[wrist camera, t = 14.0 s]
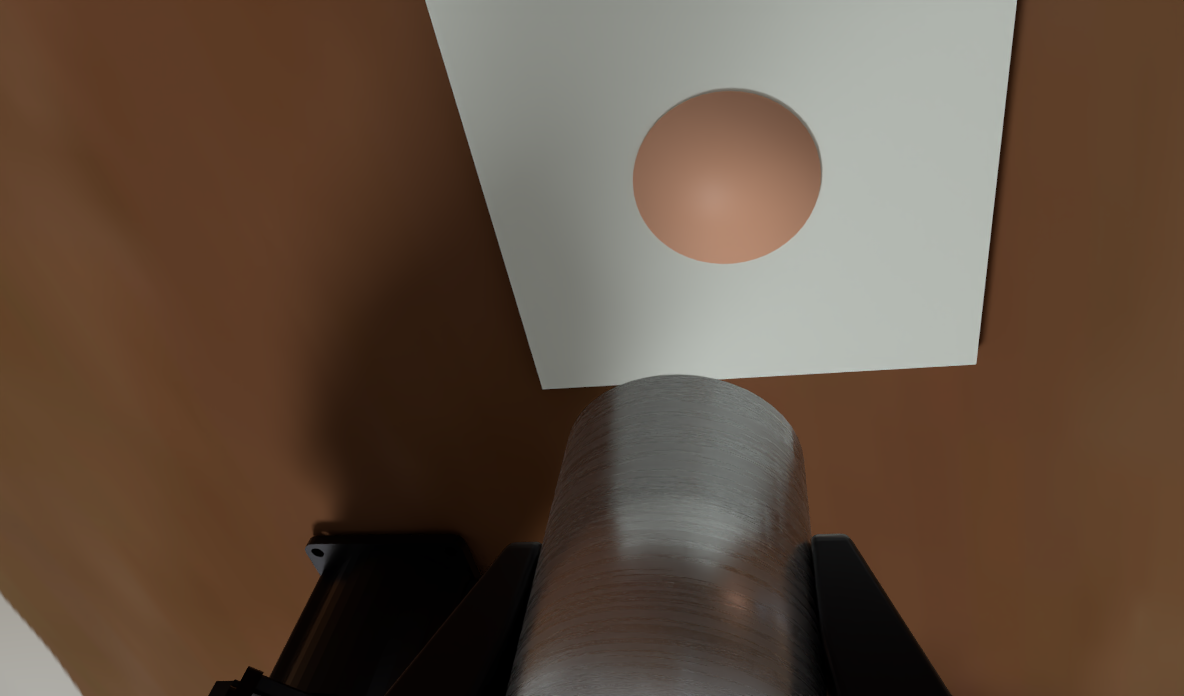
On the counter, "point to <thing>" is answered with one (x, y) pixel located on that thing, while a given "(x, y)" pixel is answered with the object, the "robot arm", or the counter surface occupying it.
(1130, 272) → the counter surface
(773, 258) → the board
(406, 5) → the counter surface
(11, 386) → the counter surface
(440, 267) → the counter surface
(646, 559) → the pin
